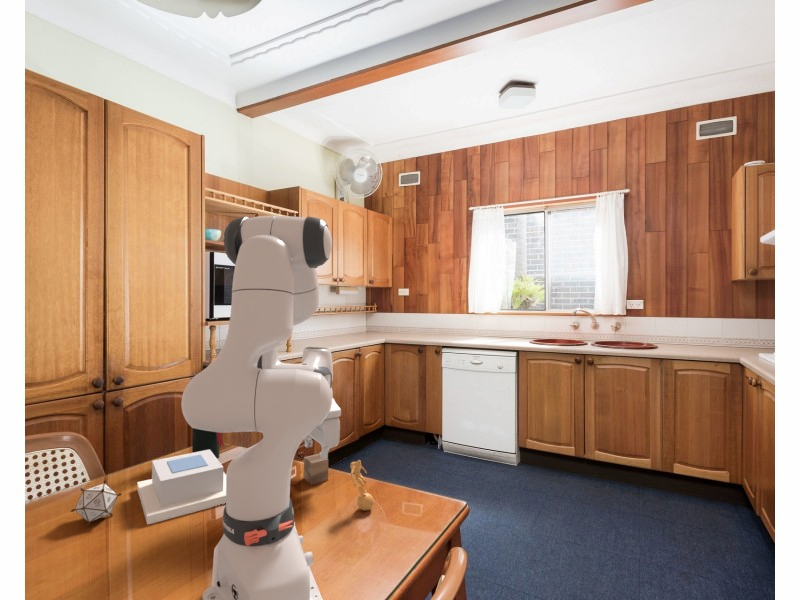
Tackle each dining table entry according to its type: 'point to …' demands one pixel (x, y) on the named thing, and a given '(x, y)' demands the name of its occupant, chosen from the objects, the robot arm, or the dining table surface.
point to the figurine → (361, 487)
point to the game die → (96, 502)
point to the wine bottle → (206, 436)
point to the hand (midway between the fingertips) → (315, 452)
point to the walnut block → (315, 469)
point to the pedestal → (182, 486)
